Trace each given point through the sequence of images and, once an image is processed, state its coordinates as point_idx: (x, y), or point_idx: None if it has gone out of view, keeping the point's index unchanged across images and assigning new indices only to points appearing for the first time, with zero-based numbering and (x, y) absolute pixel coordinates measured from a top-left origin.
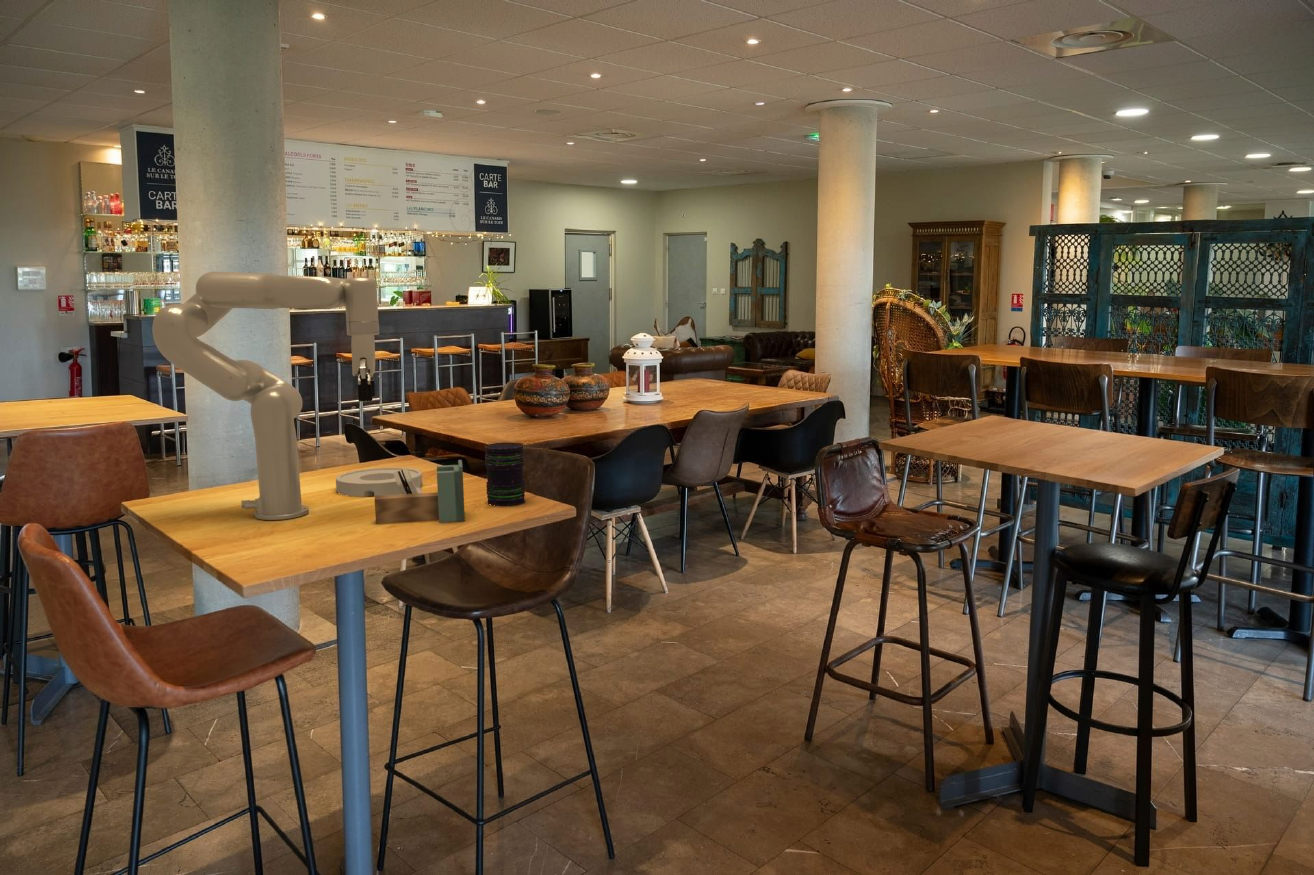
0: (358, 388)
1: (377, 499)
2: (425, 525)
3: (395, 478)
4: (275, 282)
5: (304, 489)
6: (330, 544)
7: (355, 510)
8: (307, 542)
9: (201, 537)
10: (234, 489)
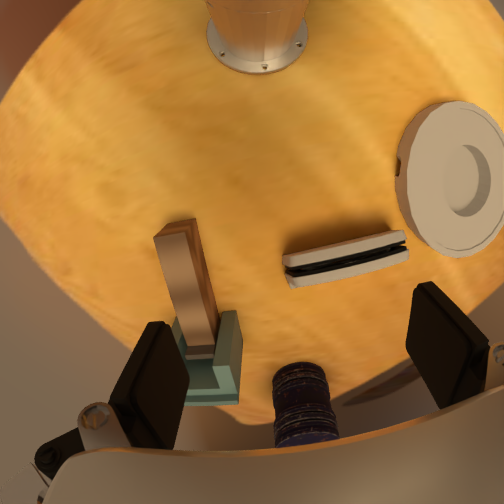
0: (122, 379)
1: (154, 242)
2: (160, 300)
3: (319, 251)
4: None
5: (456, 52)
6: (61, 190)
7: (281, 158)
8: (69, 152)
9: None
10: None
